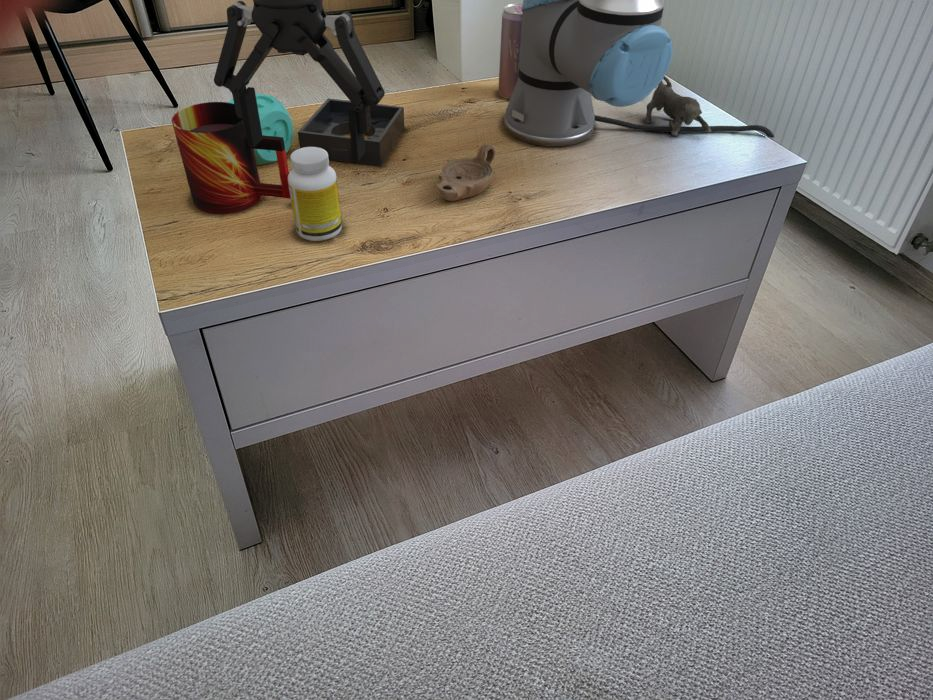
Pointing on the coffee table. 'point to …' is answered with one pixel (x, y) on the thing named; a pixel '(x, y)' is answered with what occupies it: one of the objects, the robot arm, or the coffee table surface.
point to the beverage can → (510, 49)
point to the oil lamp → (466, 175)
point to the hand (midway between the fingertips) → (306, 149)
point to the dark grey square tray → (340, 126)
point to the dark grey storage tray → (373, 148)
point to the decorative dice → (272, 125)
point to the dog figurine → (675, 108)
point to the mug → (224, 159)
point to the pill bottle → (314, 194)
